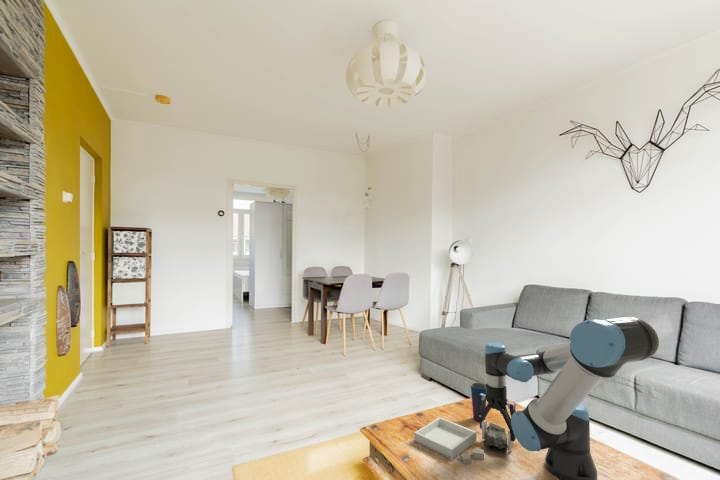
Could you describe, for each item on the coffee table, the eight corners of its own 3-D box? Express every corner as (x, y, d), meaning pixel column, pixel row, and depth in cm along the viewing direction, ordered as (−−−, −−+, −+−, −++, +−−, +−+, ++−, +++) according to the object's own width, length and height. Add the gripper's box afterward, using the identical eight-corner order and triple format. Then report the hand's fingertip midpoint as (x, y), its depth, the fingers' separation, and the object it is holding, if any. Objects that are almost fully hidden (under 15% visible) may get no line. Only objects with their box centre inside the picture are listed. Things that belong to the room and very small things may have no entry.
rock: (509, 456, 125) (508, 437, 125) (483, 452, 128) (483, 434, 128) (506, 437, 138) (505, 421, 138) (483, 434, 140) (482, 418, 141)
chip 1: (470, 464, 121) (470, 458, 121) (463, 464, 121) (463, 459, 121) (467, 458, 124) (467, 453, 124) (460, 458, 124) (460, 453, 124)
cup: (471, 422, 151) (470, 387, 151) (471, 415, 157) (470, 381, 158) (488, 424, 149) (487, 389, 149) (487, 416, 155) (486, 383, 156)
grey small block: (483, 455, 126) (483, 449, 126) (484, 459, 124) (484, 454, 124) (473, 453, 127) (473, 448, 127) (473, 458, 125) (473, 452, 125)
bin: (476, 440, 136) (476, 431, 136) (452, 460, 123) (452, 450, 123) (439, 425, 148) (439, 417, 148) (414, 441, 135) (414, 432, 136)
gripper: (529, 389, 127) (531, 451, 126) (473, 374, 143) (475, 429, 142) (521, 395, 122) (523, 459, 121) (464, 379, 138) (465, 435, 137)
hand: (497, 443), depth 132 cm, fingers closed on rock, 10 cm apart
